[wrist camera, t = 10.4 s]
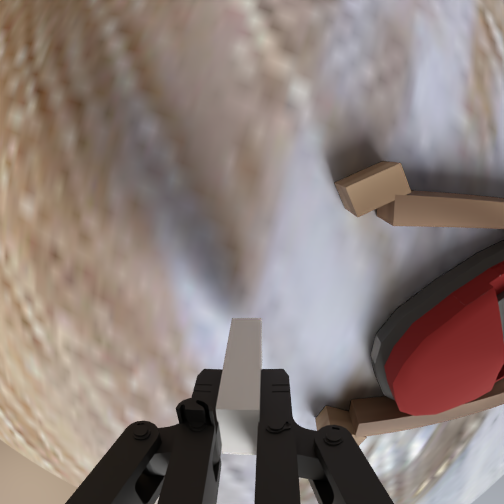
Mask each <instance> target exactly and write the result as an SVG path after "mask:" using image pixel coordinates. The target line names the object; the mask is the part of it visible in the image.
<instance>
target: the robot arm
mask: <svg viewBox="0 0 504 504" xmlns="http://www.w3.org/2000/svg"><path fill="white" fill-rule="evenodd" d="M176 412H177V416H178V420H179V424H176V425H174V426H170V427H164V428H157V427H156V425H155V424H153V423H151V422H148V421H137V422H135V423H132V424H131V425H129V426H128V427H127V428H126V429H125V431H124V432H123V433H122V434H121V436H120V437H119V438H118V439H117V440H116V442H115V443H114V444H113V445H112V447H111V448H110V449H109V450H108V452H107V453H106V454H105V455H104V457H103V458H102V459H101V460H100V462H99V463H98V464H97V465H96V466H95V468H94V469H93V470H92V471H91V473H90V474H89V475H88V476H87V478H86V479H85V480H84V481H83V482H82V484H81V485H80V486H79V487H78V489H77V490H76V491H75V492H74V493H73V495H72V496H71V497H70V498H69V500H68V501H67V502H66V503H65V504H154V503H155V502H156V500H157V498H158V497H159V500H158V504H216V502H217V494H218V487H219V479H220V471H221V459H220V455H221V449H222V454H243V455H257V457H256V482H255V504H300V490H299V477H301V478H306V479H309V482H310V484H311V487H312V489H313V491H314V494H315V496H316V498H317V501H318V503H319V504H394V503H393V501H392V500H391V498H390V497H389V495H388V493H387V492H386V490H385V488H384V487H383V485H382V484H381V482H380V480H379V479H378V477H377V475H376V474H375V472H374V470H373V469H372V467H371V466H370V464H369V462H368V461H367V459H366V457H365V456H364V454H363V452H362V451H361V449H360V448H359V446H358V444H357V443H356V441H355V439H354V438H353V436H352V434H351V433H350V432H349V431H348V430H347V429H346V428H344V427H342V426H339V425H327V426H324V427H322V428H320V429H319V430H318V431H314V430H309V429H305V428H303V427H301V426H299V425H298V424H297V423H295V421H294V419H293V416H292V406H291V395H290V384H289V376H288V374H287V373H286V372H285V370H284V369H262V319H261V318H232V322H231V327H230V332H229V338H228V343H227V349H226V354H225V360H224V365H223V370H220V369H204V370H203V371H202V372H201V373H200V374H199V375H198V376H197V380H196V383H195V387H194V392H193V394H192V398H189V399H186V400H183V401H182V402H180V403H179V404H178V406H177V407H176ZM159 495H160V496H159Z"/></svg>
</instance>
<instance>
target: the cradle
mask: <svg viewBox="0 0 504 504" xmlns="http://www.w3.org/2000/svg"><path fill="white" fill-rule="evenodd" d="M334 184H335V186H336V188H337V191H338V193H339V195H340V198H341V200H342V202H343V205H344V207H345V209H347V210H348V211H350V212H351V213H352V214H354V215H355V216H357V217H360V216H362V215H364V214H366V213H368V212H370V211H372V210H375V209H377V216H378V217H379V218H381V219H383V220H384V221H386V222H388V223H389V224H391V225H392V226H425V227H465V228H494V229H504V198H498V197H489V196H479V195H468V194H456V193H444V192H430V191H414V190H410V187H409V184H408V181H407V179H406V176H405V173H404V170H403V168H402V165H401V163H396V162H386V161H382V162H380V163H377V164H375V165H373V166H370V167H368V168H366V169H364V170H361V171H359V172H357V173H355V174H352V175H350V176H348V177H346V178H343V179H341V180H339V181H337V182H335V183H334ZM502 404H504V378H502V379H500V380H499V381H497V382H495V383H494V386H493V388H492V390H491V391H489V392H488V393H486V394H484V395H482V396H481V397H479V398H477V399H475V400H473V401H470V402H468V403H465V404H463V405H460V406H458V407H455V408H452V409H450V410H447V411H444V412H442V413H439V414H436V415H422V416H414V415H410V414H407V413H404V412H401V411H400V410H399V408H398V406H397V404H396V402H395V400H393V399H391V398H389V397H387V396H381V397H372V398H363V399H354V400H351V405H350V409H349V411H345V410H341V409H337V408H333V407H330V406H325V407H324V409H323V410H322V411H321V412H320V414H319V415H318V416H317V417H316V418H315V419H316V426H317V431H318V430H319V429H320V428H322V427H324V426H327V425H339V426H342V427H344V428H346V429H347V430H348V431H349V432H350V433H351V434H352V436H353V438H354V439H355V441H356V443H357V444H358V446H359V445H360V444H361V443H362V442H363V441H364V440H365V439H366V438H367V437H366V436H372V435H379V434H385V433H391V432H397V431H403V430H408V429H413V428H418V427H423V426H428V425H432V424H436V423H441V422H445V421H449V420H453V419H456V418H460V417H464V416H467V415H471V414H474V413H478V412H481V411H484V410H487V409H490V408H493V407H496V406H499V405H502Z"/></svg>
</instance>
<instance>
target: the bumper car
mask: <svg viewBox="0 0 504 504" xmlns="http://www.w3.org/2000/svg"><path fill="white" fill-rule="evenodd" d="M371 359H372V364H373V369H374V373H375V375H376V378H377V380H378V383H379V385H380V387H381V390H382V392H383V394H384V395H385V396H387V397H389V398H391V399H393V400H395V402H396V404H397V406H398V408H399V410H400V411H401V412H404V413H407V414H410V415H414V416H422V415H436V414H439V413H442V412H444V411H447V410H450V409H452V408H455V407H458V406H460V405H463V404H465V403H468V402H470V401H473V400H475V399H477V398H479V397H481V396H482V395H484V394H486V393H488V392H489V391H491V390H492V388H493V386H494V383H495V382H497V381H499V380H500V379H502V378H504V240H503V241H501V242H499V243H497V244H495V245H493V246H491V247H489V248H487V249H485V250H483V251H481V252H479V253H476V254H475V255H473V256H472V257H470V258H469V259H467V260H466V261H464V262H463V263H461V264H460V265H458V266H457V267H455V268H453V269H452V270H450V271H449V272H447V273H445V274H444V275H442V276H440V277H439V278H437V279H436V280H434V281H433V282H432V283H431V284H429V285H428V286H427V287H425V288H424V289H423V290H421V291H420V292H419V293H418V294H416V295H415V296H414V297H412V298H411V299H410V300H408V301H407V302H406V303H404V304H403V305H402V306H400V307H399V308H398V309H396V311H395V312H394V313H393V314H392V316H391V317H390V318H389V319H388V320H387V322H386V323H385V324H384V325H383V327H382V328H381V329H380V330H379V331H378V333H377V334H376V337H375V340H374V344H373V348H372V352H371Z"/></svg>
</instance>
